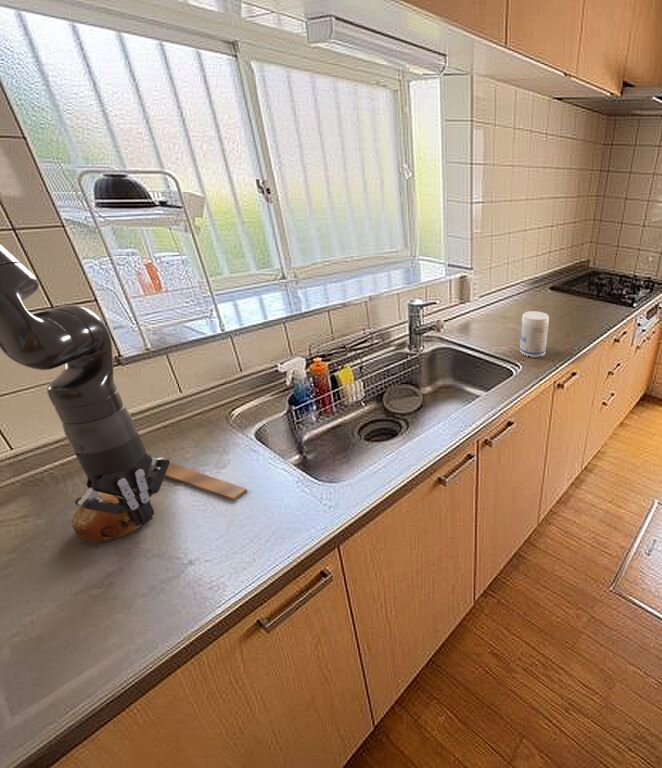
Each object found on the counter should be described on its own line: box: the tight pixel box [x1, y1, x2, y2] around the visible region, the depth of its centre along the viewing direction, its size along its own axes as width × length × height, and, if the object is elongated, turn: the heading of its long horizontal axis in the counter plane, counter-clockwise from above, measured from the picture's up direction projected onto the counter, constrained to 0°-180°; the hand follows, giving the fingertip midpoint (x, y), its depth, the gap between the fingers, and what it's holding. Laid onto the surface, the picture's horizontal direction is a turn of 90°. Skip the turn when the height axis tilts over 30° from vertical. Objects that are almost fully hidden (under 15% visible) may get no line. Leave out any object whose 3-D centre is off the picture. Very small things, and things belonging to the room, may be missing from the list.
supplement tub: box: [519, 310, 550, 359], centre depth 150 cm, size 10×10×15 cm
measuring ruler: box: [164, 462, 248, 502], centre depth 85 cm, size 24×3×1 cm, turn 71°
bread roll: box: [71, 492, 152, 543], centre depth 73 cm, size 10×10×8 cm
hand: (144, 520), depth 72 cm, fingers closed
